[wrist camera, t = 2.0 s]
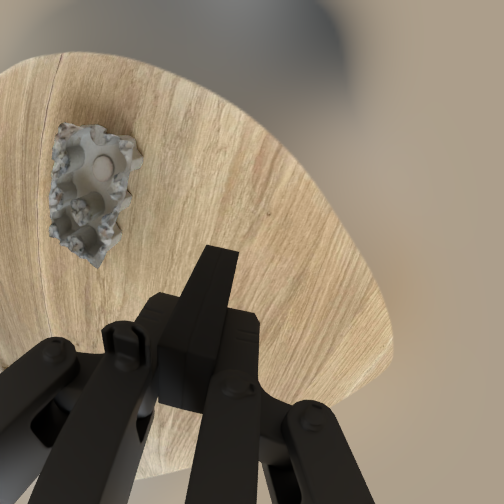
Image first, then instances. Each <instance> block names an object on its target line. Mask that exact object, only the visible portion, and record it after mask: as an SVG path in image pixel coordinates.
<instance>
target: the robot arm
mask: <svg viewBox="0 0 504 504" xmlns="http://www.w3.org/2000/svg"><path fill="white" fill-rule="evenodd" d="M238 256H239V252H237V251H233V250H228V249H224V248H219V247H215V246H210V245H206V247H205V248H204V250H203V252H202V254H201V256H200V258H199V260H198V262H197V264H196V266H195V268H194V270H193V272H192V274H191V276H190V278H189V280H188V282H187V284H186V286H185V288H184V290H183V292H182V294H181V296H180V297H177V296H173V295H169V294H165V293H161V292H159V293H157V294H155V295H154V296H152V297H150V298H149V300H148V301H147V303H146V304H145V306H144V308H143V309H142V310H141V312H140V314H139V316H138V317H137V318H136V320H135V322H131V321H115V322H113V323H110V324H108V325H106V326H105V327H104V328H103V329H102V330H101V332H102V338H103V344H104V350H105V353H103V354H90V353H81V352H76V350H75V346H74V345H73V344H72V343H71V342H70V341H69V340H67V339H65V338H62V337H51V338H47V339H45V340H43V341H41V342H40V343H38V344H37V345H36V346H34V347H33V348H32V349H31V350H29V351H28V352H27V353H25V354H24V355H23V356H22V357H20V358H19V359H18V360H17V361H15V362H14V363H13V364H12V365H10V366H9V367H8V368H7V369H6V370H4V371H3V372H2V373H1V374H0V504H14V503H15V502H16V501H17V500H18V499H19V497H20V496H21V495H22V494H23V493H24V492H25V491H26V489H27V488H28V487H29V486H30V485H31V483H32V482H33V481H34V480H35V479H36V478H37V476H39V477H38V480H37V482H36V485H35V487H34V489H33V492H32V494H31V496H30V499H29V502H28V504H127V503H128V499H129V496H130V492H131V489H132V485H133V482H134V479H135V475H136V472H137V469H138V466H139V462H140V459H141V456H142V453H143V450H144V446H145V443H146V440H147V437H148V434H149V431H150V428H151V425H152V422H153V419H154V412H155V411H154V406H155V403H156V400H157V398H158V402H159V403H161V404H165V405H168V406H172V407H176V408H180V409H184V410H188V411H192V412H196V413H200V414H203V416H202V420H201V425H200V430H199V435H198V440H197V444H196V449H195V454H194V459H193V464H192V469H191V474H190V479H189V485H188V489H187V495H186V500H185V504H256V502H257V483H258V461H260V462H261V463H262V467H263V471H264V475H265V478H266V482H267V486H268V490H269V493H270V497H271V500H272V504H375V503H374V500H373V498H372V496H371V494H370V492H369V489H368V487H367V485H366V482H365V480H364V478H363V476H362V474H361V471H360V469H359V467H358V465H357V463H356V460H355V458H354V456H353V454H352V452H351V449H350V447H349V445H348V443H347V441H346V439H345V436H344V434H343V432H342V430H341V427H340V425H339V423H338V421H337V419H336V417H335V415H334V413H333V412H332V411H331V409H330V408H328V407H327V406H326V405H324V404H323V403H320V402H317V401H315V400H302V401H299V402H296V403H295V404H294V405H293V406H292V405H290V404H287V403H285V402H282V401H280V400H277V399H275V398H273V397H272V396H270V395H269V394H268V393H266V392H265V391H264V390H263V388H262V387H261V385H260V383H259V381H258V357H259V332H260V322H259V321H258V319H257V317H256V315H255V313H251V312H247V311H242V310H237V309H232V308H228V307H227V306H228V301H229V297H230V292H231V287H232V283H233V278H234V274H235V269H236V265H237V260H238ZM39 474H40V475H39Z"/></svg>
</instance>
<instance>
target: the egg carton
mask: <svg viewBox="0 0 504 504" xmlns="http://www.w3.org/2000/svg"><path fill="white" fill-rule="evenodd" d="M106 132H107V129H106V128H104V127H103V126H100V125H98V124H94V125H81V126H80V127H79V126H76V125H74V124H70V123H66V122H64V123H62V124H60V126H59V127H58V133H57V134H56V136H55V140H54V141H55V143H54V146H53V148H52V150H53V152H52V159H53V160H54V161H55V163H54V166H53V170H52V172H51V177H52V182H51V190H50V194H49V208H50V218H51V220H52V224H51V225H50V227H49V233H50V235H49V236H50V237H52V238H54V237H55V238H57V239H59V240H60V243H59V244H60V245H61V246H66V247H68V248H69V250H70V251H71V252H73V253H75V254H76V255H77V256H78V257H79V258H83V259H87V260H88V261H89V262H90V263H91V264H92V265H93V266H94V267H95V268H97V269H98V268H99V267H100V265H101V263H102V261H103V260H104V257H105V255H106V253H107V251H108V250H110V249H111V248H112V247H113V246H114V245H116V244H117V243H118V242H119V241H120V240H121V236H122V231H121V230H120V229H119V228H118V226H117V224H116V220H117V217H118V214H119V212H120V211H122V210H123V209H125V208H127V207H128V206H129V205H130V203H131V199H132V196H131V194H130V193H129V192H128V191H127V184H128V179H129V174H130V171H133V170H136V169H140V167H141V166H142V163H143V156H142V155H141V154H140V153H139V151H138V150H137V147H136V140H135V138H133V137H131V136H130V135H118V136H117V135H114V134H106Z"/></svg>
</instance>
